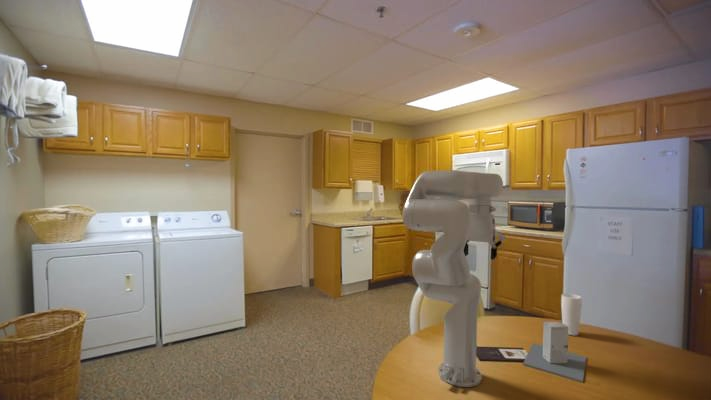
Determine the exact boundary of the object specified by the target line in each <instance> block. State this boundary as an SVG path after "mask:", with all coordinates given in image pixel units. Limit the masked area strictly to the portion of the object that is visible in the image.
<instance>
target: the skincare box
mask: <svg viewBox="0 0 711 400" xmlns="http://www.w3.org/2000/svg"><path fill="white" fill-rule="evenodd" d="M542 335H543V336H542V345H543V358H544V359H545V360H547V361H548V362H549V363H567V361H568V352H569V335H568V326H567V325H565V324H563V323H562V322H561V321H543V331H542Z"/></svg>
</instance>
